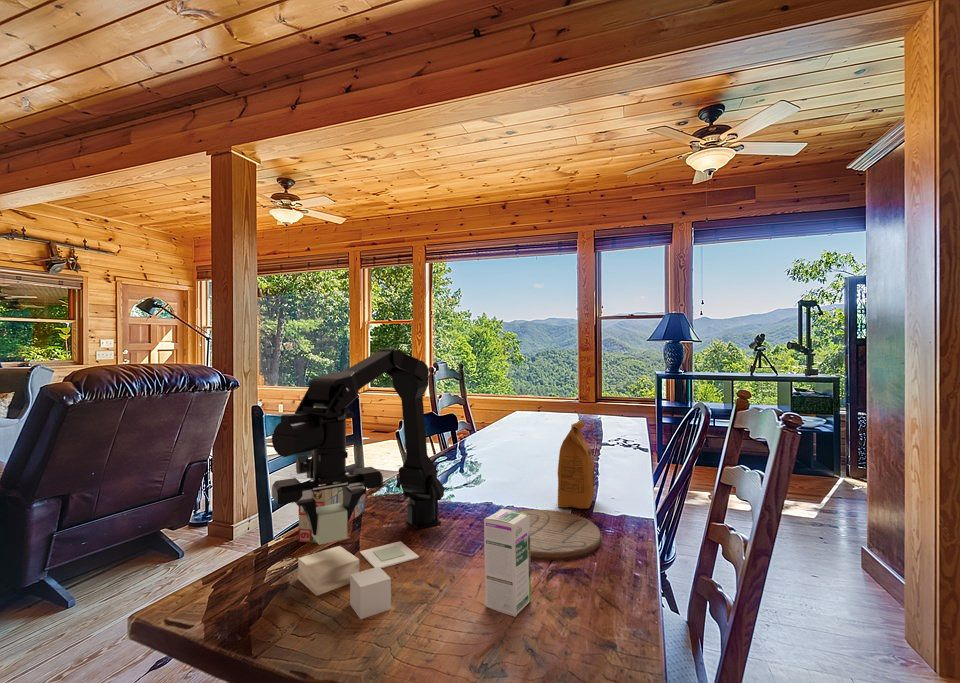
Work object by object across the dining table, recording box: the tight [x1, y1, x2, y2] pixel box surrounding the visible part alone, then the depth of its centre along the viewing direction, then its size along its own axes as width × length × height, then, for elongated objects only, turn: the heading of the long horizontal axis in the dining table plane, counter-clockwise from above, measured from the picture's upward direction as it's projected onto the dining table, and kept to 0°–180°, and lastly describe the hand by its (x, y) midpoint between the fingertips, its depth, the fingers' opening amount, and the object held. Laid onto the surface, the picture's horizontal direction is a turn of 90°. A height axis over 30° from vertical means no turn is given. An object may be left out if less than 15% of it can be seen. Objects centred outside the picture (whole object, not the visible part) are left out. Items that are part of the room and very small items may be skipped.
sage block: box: [312, 503, 348, 546], centre depth 84 cm, size 5×5×5 cm
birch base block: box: [297, 545, 360, 597], centre depth 84 cm, size 8×8×4 cm
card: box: [359, 540, 420, 569], centre depth 93 cm, size 9×9×1 cm
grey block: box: [349, 567, 392, 620], centre depth 75 cm, size 5×5×5 cm
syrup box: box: [483, 508, 532, 618], centre depth 75 cm, size 6×6×14 cm
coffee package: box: [557, 420, 596, 510], centre depth 125 cm, size 10×12×22 cm
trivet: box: [519, 508, 601, 561], centre depth 104 cm, size 25×25×2 cm
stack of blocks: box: [298, 472, 366, 544], centre depth 110 cm, size 21×6×12 cm, turn 170°
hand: (329, 531), depth 84 cm, fingers closed on sage block, 5 cm apart
